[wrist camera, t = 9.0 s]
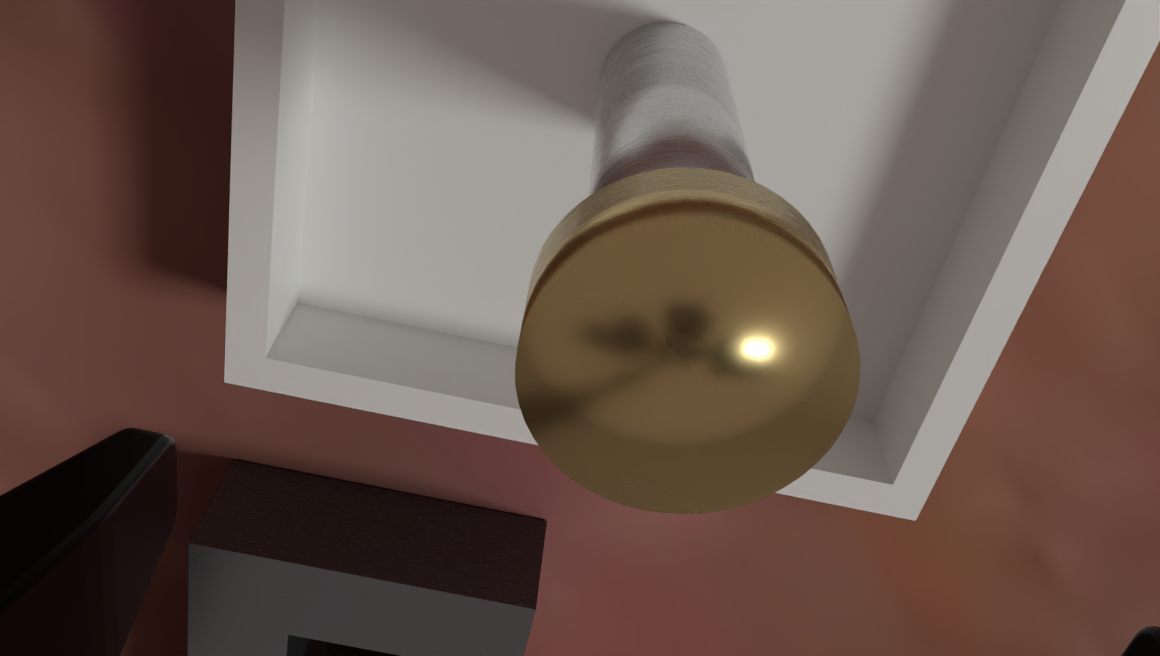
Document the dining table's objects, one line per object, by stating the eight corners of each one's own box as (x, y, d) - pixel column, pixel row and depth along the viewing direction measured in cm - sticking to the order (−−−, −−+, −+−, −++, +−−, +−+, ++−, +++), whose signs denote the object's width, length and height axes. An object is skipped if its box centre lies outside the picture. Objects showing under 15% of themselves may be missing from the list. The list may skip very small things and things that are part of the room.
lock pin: (551, 154, 20) (489, 480, 12) (590, -32, 18) (549, 191, 10) (729, 192, 20) (797, 539, 12) (785, 12, 19) (913, 269, 10)
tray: (270, 307, 23) (224, 382, 21) (315, -492, 16) (250, -528, 13) (887, 434, 24) (915, 520, 22) (1211, -267, 17) (1311, -260, 14)
